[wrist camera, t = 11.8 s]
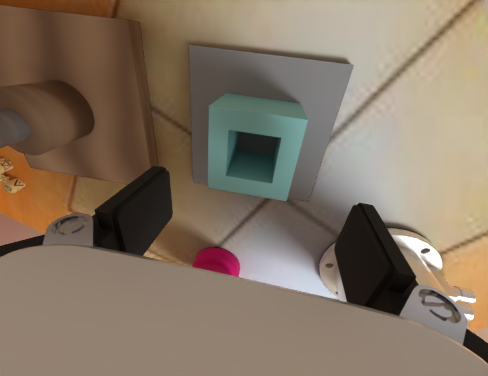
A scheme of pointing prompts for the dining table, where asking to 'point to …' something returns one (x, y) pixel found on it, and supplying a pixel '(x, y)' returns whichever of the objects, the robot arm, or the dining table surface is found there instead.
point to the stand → (75, 94)
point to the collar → (248, 163)
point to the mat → (269, 87)
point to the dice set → (9, 185)
